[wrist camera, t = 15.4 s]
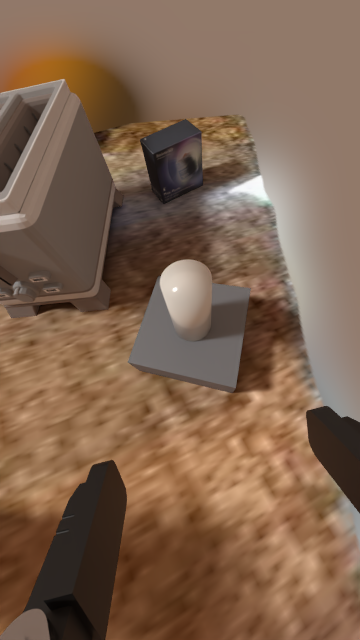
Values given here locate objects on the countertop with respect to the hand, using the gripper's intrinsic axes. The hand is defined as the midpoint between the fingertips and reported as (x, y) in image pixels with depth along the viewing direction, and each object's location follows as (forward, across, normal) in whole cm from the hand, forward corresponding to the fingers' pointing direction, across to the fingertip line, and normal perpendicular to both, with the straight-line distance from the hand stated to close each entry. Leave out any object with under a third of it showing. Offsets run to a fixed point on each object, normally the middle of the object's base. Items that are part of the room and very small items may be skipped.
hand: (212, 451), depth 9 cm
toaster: (+42, +18, -13) cm, 48 cm away
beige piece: (+21, -2, +1) cm, 21 cm away
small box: (+50, -7, -22) cm, 55 cm away
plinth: (+25, -2, +5) cm, 25 cm away
